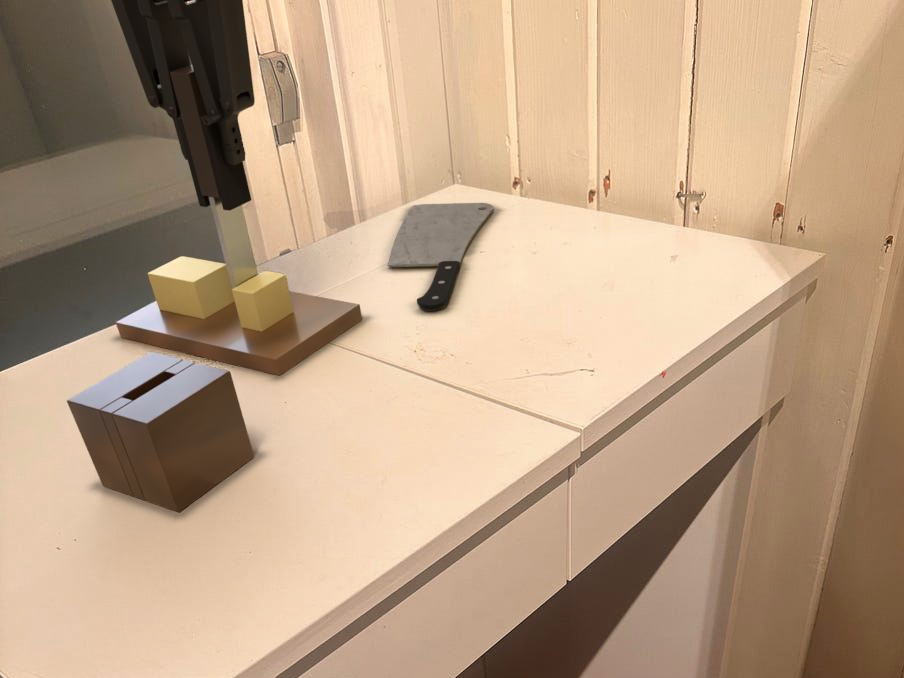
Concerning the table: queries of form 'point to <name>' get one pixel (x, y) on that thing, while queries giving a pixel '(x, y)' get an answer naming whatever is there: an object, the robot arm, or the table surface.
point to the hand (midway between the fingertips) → (225, 202)
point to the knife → (213, 181)
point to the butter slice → (263, 300)
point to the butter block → (192, 287)
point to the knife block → (163, 429)
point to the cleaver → (437, 243)
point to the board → (245, 332)
